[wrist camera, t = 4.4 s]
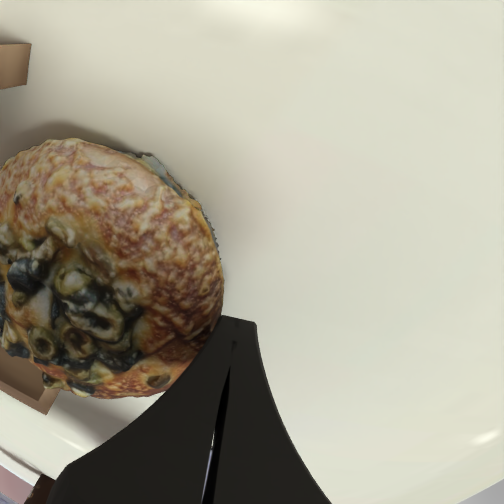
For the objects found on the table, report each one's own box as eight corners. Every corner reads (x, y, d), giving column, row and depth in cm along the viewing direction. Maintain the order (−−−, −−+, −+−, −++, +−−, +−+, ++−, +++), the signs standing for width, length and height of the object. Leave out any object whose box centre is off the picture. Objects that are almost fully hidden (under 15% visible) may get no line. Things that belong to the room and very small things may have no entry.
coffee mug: (62, 489, 42) (48, 524, 34) (30, 468, 39) (14, 505, 30) (91, 498, 39) (78, 539, 30) (55, 476, 35) (38, 520, 27)
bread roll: (137, 398, 15) (96, 469, 10) (-4, 250, 13) (-69, 292, 8) (304, 282, 11) (298, 392, 6) (88, 64, 9) (-20, 54, 4)
